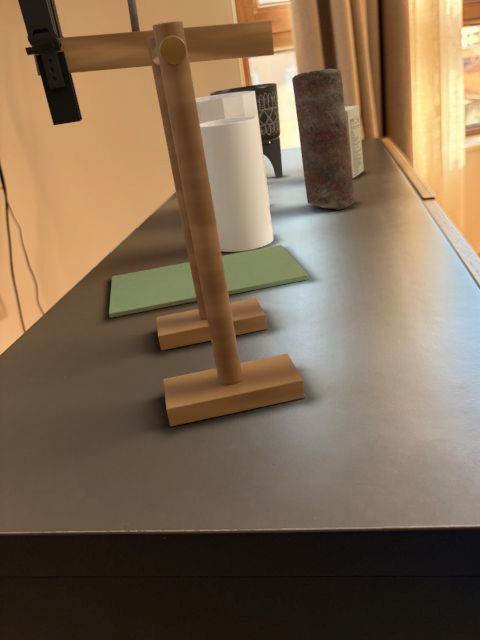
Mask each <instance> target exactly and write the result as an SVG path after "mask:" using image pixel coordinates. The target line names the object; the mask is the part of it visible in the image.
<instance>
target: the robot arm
mask: <svg viewBox="0 0 480 640" xmlns="http://www.w3.org/2000/svg"><path fill="white" fill-rule="evenodd" d="M17 3H18V5H19V9H20V13H21V17H22V19H23V23H24V26H25V29H26V34H27V36H26V38H27V41H28V43H29V45H30V46H28V47H24V48H25V52H26V55H27V56H34V54H41V55H35V56H36V60H37V64H38V68H39V72H40V75H41V76H40V79H41V83H42V86H43V90H44V94H45V98H46V102H47V106H48V109H49V114H50V117H51V121H52V125H53V126H59V125H64V124H65V125H66V124H71V123H77V122H81V121H82V120H83V116H82V112H81V108H80V104H79V100H78V96H77V91H76V88H75V83H74V79H73V75H72V73H69V70H68V66H67V62H66V58H65V54H64V51H62V52H57V51H61V46H62V45H61V41H60V40H59V38H63V37H64V35H63V31H62V27H61V22H60V18H59V14H58V10H57V5H56V1H55V0H17Z"/></svg>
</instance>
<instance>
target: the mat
mask: <svg viewBox="0 0 480 640" xmlns="http://www.w3.org/2000/svg"><path fill="white" fill-rule="evenodd" d="M222 259H223V265H224V271H225V277H226V283H227V289H228V295H229V296H231V295H235V294H241V293H245V292H250V291H256V290H261V289H266V288H271V287H276V286H281V285H286V284H292V283H296V282H301V281H307V280H309V279H310V278H309V274H308V273H307V272H306V271H305V270H304V269H303V268H302V266H301V265H300V264H299V263H298V262H297V260H295V259H294V258H293V256H291V254H290V253H289V252H288V251H287V249H285V247H284V246H283V245H282V244H278V245H273V246H268V247H267V246H266V247H260V248H256V249H252V250H246V251H239V252H233V253H230V254H224V255H222ZM110 283H111V284H110V295H109V308H108V316H109V318H110V319H113V318H116V317H122V316H127V315H132V314H137V313H143V312H149V311H154V310H157V309H158V310H159V309H163V308H168V307H173V306H178V305H184V304H189V303H195V302H197V300H196V294H195V289H194V284H193V279H192V273H191V268H190V263H189V261H186V262H181V263H177V264H176V263H175V264H171V265H165V266H160V267H155V268H150V269H143V270H139V271H138V270H137V271H135V272H127V273H124V274H123V273H122V274H118V275H112V276H111V282H110Z"/></svg>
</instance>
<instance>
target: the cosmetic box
mask: <svg viewBox="0 0 480 640" xmlns="http://www.w3.org/2000/svg"><path fill="white" fill-rule="evenodd" d="M344 106H345V105H344ZM345 115H346V125H347V134H348V144H349V152H350V162H351V169H352V179H355V178H356V177H357V176H359V175H360V174H362V173H363V172H364V169H365V168H364V158H363V157H364V156H363V145H362V144H363V143H362V130H361V117H360V105H359V104H357V105H347V106H345Z"/></svg>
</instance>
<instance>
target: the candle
mask: <svg viewBox="0 0 480 640" xmlns="http://www.w3.org/2000/svg"><path fill="white" fill-rule="evenodd" d="M291 81H292V82H291V83H292V89H293V95H294V96H293V97H294V104H295V112H296V119H297V120H296V121H297V129H298V134H299V143H300V144H299V145H300V152H301V161H302V169H303V177H304V185H305V193H306V200H307V204H309V205H312V206H314V207H320V208H321V209H331V210H335V211H336V210H345V209H347V208H348V207H350V206H351V205H353V204H354V203H355V189H354V178H352V169H351V162H350V152H349V144H348V134H347V125H346V115H345V95H344V84H343V78H342V71H341V70H340V69H338V68H326V69H320V70H311V71H309V72H307V71H306V72H301V73H298V74H295V75H294V76H293V77H292V78H291Z"/></svg>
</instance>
